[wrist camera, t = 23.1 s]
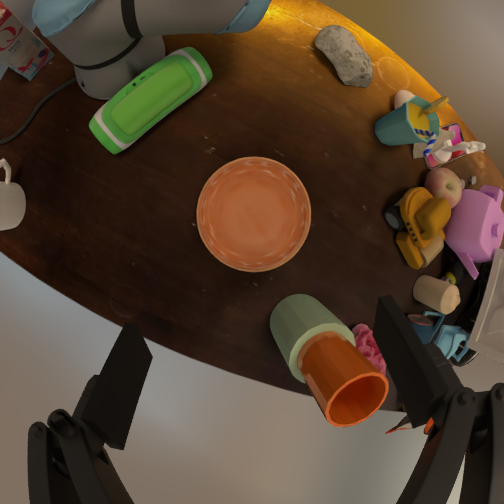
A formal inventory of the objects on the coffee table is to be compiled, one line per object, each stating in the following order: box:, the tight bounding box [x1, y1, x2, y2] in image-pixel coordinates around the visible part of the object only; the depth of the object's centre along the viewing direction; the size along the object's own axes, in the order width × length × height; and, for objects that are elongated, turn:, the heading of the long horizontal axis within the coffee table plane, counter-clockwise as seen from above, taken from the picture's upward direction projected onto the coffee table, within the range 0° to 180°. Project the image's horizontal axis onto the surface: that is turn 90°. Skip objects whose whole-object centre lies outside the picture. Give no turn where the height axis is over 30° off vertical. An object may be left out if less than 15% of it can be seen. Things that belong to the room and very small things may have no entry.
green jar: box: [270, 294, 356, 383], centre depth 39 cm, size 9×9×12 cm
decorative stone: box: [315, 25, 373, 88], centre depth 36 cm, size 12×11×5 cm
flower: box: [351, 324, 386, 376], centre depth 44 cm, size 11×10×10 cm
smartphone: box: [424, 123, 466, 169], centre depth 43 cm, size 7×1×15 cm
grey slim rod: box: [459, 176, 476, 189], centre depth 45 cm, size 2×12×2 cm, turn 108°
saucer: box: [196, 157, 311, 272], centre depth 39 cm, size 16×16×3 cm
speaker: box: [89, 47, 212, 154], centre depth 32 cm, size 18×7×8 cm
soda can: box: [407, 314, 433, 344], centre depth 46 cm, size 7×7×12 cm
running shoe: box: [450, 260, 493, 367], centre depth 48 cm, size 11×29×12 cm
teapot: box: [442, 184, 504, 280], centre depth 41 cm, size 20×12×13 cm, turn 153°
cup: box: [375, 95, 449, 157], centre depth 34 cm, size 14×8×15 cm, turn 150°
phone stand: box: [422, 311, 471, 362], centre depth 44 cm, size 8×8×12 cm
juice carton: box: [0, 1, 55, 81], centre depth 18 cm, size 7×7×22 cm
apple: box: [424, 168, 462, 209], centre depth 41 cm, size 8×8×8 cm
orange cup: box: [297, 331, 389, 427], centre depth 28 cm, size 7×7×10 cm
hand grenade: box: [440, 260, 468, 285], centre depth 46 cm, size 4×4×10 cm
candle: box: [413, 275, 460, 314], centre depth 43 cm, size 6×6×10 cm
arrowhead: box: [413, 127, 455, 159], centre depth 39 cm, size 8×2×10 cm
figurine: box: [431, 140, 486, 163], centre depth 37 cm, size 7×7×12 cm
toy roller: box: [384, 186, 451, 269], centre depth 40 cm, size 9×14×10 cm, turn 37°
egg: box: [394, 90, 414, 109], centre depth 39 cm, size 6×6×8 cm
